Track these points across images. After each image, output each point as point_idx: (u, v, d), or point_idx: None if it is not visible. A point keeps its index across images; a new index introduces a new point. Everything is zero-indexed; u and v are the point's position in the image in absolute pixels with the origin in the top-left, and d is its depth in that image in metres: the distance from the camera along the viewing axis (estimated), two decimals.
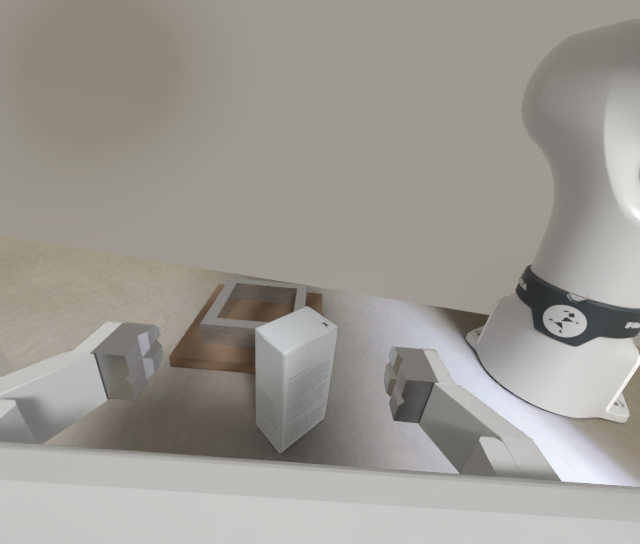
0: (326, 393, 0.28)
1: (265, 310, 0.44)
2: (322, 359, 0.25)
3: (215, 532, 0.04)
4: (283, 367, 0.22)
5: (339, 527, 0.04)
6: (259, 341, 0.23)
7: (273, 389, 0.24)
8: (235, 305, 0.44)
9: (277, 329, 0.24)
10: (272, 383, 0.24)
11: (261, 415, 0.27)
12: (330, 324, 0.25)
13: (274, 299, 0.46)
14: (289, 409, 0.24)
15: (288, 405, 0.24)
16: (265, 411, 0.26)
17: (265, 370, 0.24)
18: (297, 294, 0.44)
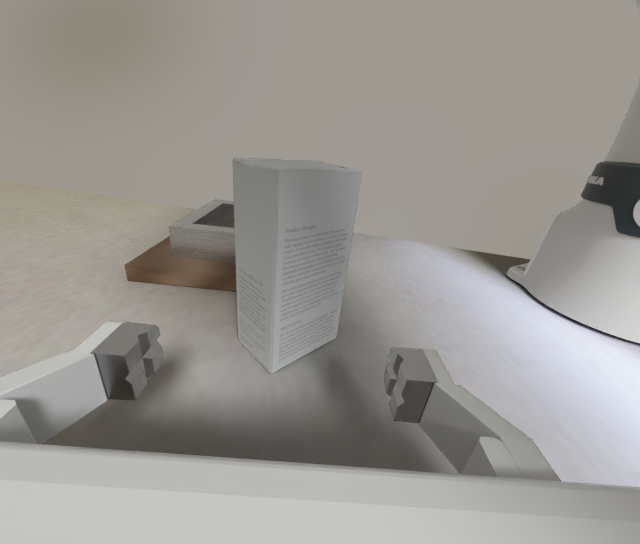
0: (341, 294, 0.19)
1: None
2: (337, 223, 0.16)
3: (215, 532, 0.04)
4: (275, 197, 0.13)
5: (338, 526, 0.04)
6: (239, 177, 0.15)
7: (261, 256, 0.15)
8: None
9: (267, 160, 0.15)
10: (258, 247, 0.15)
11: (243, 319, 0.18)
12: (349, 168, 0.16)
13: None
14: (286, 294, 0.16)
15: (284, 284, 0.15)
16: (249, 307, 0.17)
17: (248, 229, 0.15)
18: None
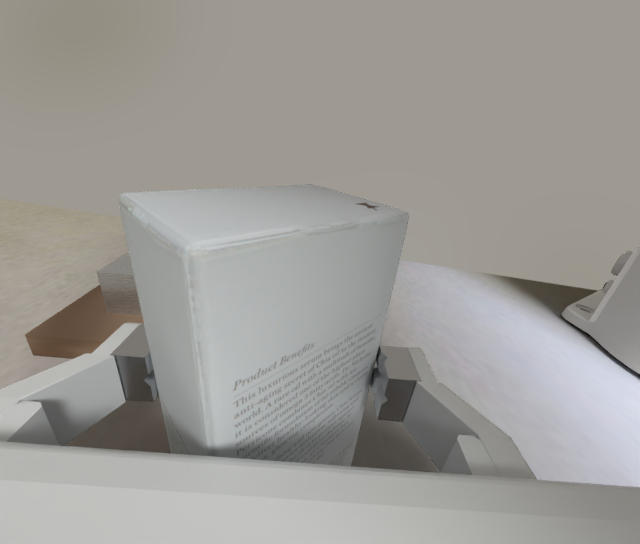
0: (359, 420, 0.11)
1: None
2: (357, 320, 0.08)
3: (215, 532, 0.04)
4: (194, 323, 0.04)
5: (339, 527, 0.04)
6: (131, 240, 0.06)
7: (187, 419, 0.06)
8: None
9: (200, 198, 0.06)
10: (181, 399, 0.06)
11: None
12: (382, 206, 0.08)
13: None
14: None
15: None
16: None
17: (161, 350, 0.07)
18: None
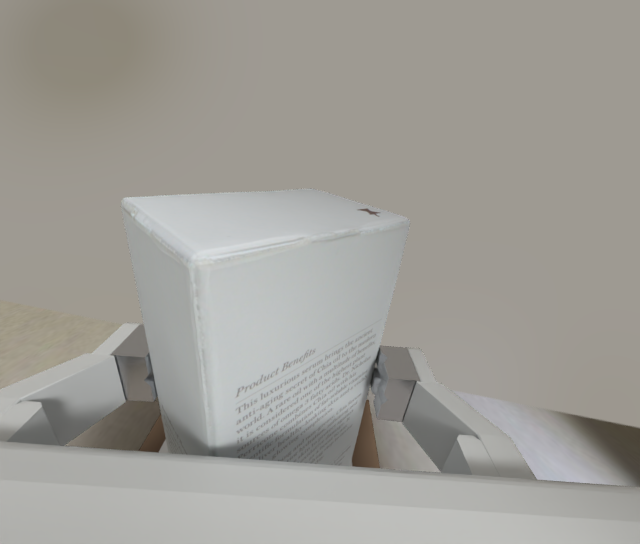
0: (357, 423, 0.11)
1: None
2: (358, 326, 0.08)
3: (215, 532, 0.04)
4: (199, 331, 0.04)
5: (339, 527, 0.04)
6: (133, 245, 0.06)
7: (188, 425, 0.06)
8: None
9: (203, 203, 0.06)
10: (182, 405, 0.06)
11: None
12: (384, 213, 0.08)
13: None
14: None
15: None
16: None
17: (162, 355, 0.07)
18: None
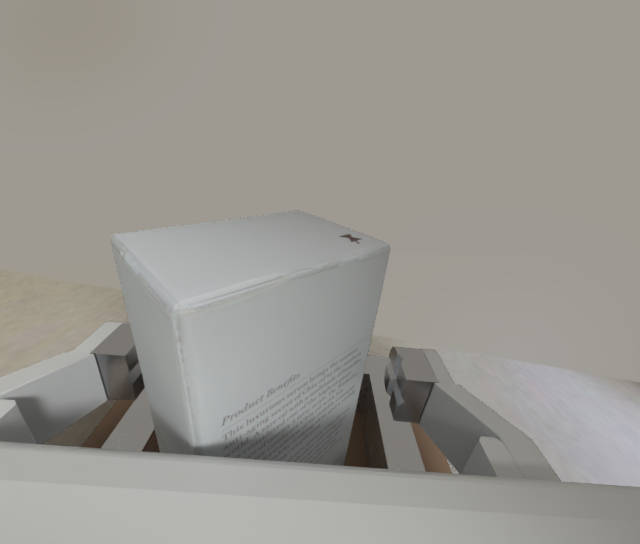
0: (347, 435, 0.11)
1: None
2: (342, 347, 0.08)
3: (215, 532, 0.04)
4: (183, 372, 0.05)
5: (339, 527, 0.04)
6: (123, 280, 0.07)
7: (179, 449, 0.07)
8: None
9: (189, 238, 0.07)
10: (172, 430, 0.07)
11: None
12: (365, 239, 0.08)
13: None
14: None
15: None
16: None
17: (153, 382, 0.07)
18: (378, 402, 0.14)
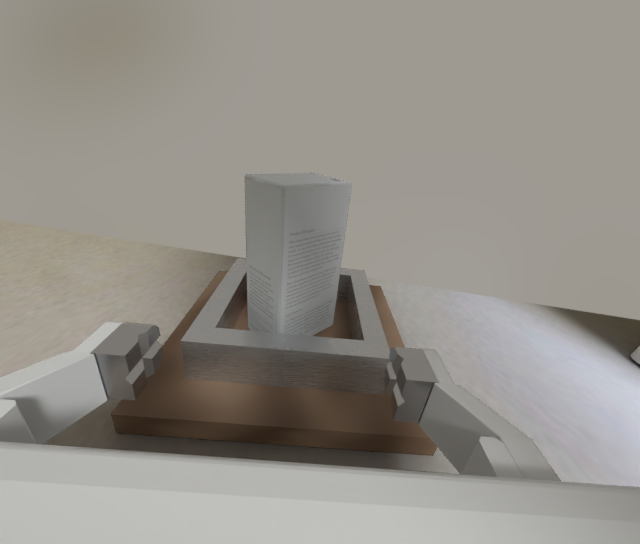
0: (336, 286, 0.23)
1: None
2: (331, 226, 0.19)
3: (215, 532, 0.04)
4: (282, 208, 0.16)
5: (339, 527, 0.04)
6: (250, 190, 0.18)
7: (270, 255, 0.18)
8: None
9: (273, 176, 0.18)
10: (267, 248, 0.18)
11: (253, 309, 0.21)
12: (341, 180, 0.19)
13: None
14: (290, 286, 0.19)
15: (289, 278, 0.18)
16: (259, 298, 0.20)
17: (258, 232, 0.18)
18: (354, 284, 0.25)
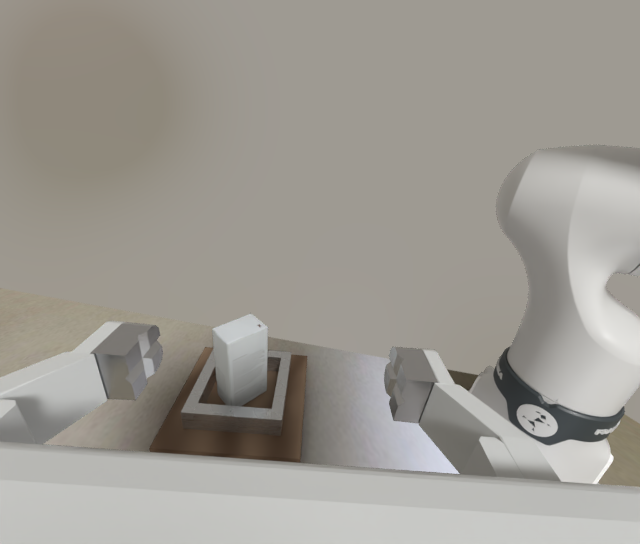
0: (265, 372, 0.41)
1: None
2: (257, 348, 0.38)
3: (215, 532, 0.04)
4: (227, 352, 0.35)
5: (338, 526, 0.04)
6: (214, 337, 0.37)
7: (224, 367, 0.37)
8: None
9: (226, 329, 0.37)
10: (223, 364, 0.37)
11: (219, 387, 0.40)
12: (262, 325, 0.38)
13: None
14: (235, 381, 0.37)
15: (234, 378, 0.37)
16: (221, 383, 0.39)
17: (219, 355, 0.37)
18: (280, 366, 0.44)
